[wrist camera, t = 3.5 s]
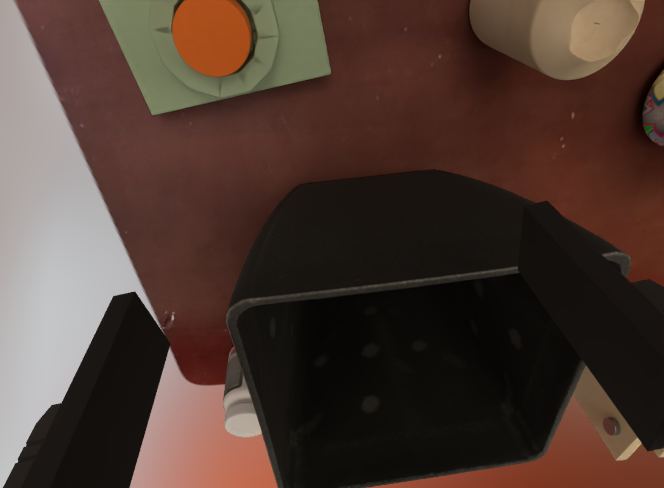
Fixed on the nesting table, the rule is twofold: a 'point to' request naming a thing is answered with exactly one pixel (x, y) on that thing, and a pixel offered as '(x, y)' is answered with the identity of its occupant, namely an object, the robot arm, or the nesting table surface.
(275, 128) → the nesting table surface
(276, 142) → the nesting table surface
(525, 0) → the candle
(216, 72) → the button
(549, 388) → the flower pot
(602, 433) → the bracket
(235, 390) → the pill bottle
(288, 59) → the control block
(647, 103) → the mug
